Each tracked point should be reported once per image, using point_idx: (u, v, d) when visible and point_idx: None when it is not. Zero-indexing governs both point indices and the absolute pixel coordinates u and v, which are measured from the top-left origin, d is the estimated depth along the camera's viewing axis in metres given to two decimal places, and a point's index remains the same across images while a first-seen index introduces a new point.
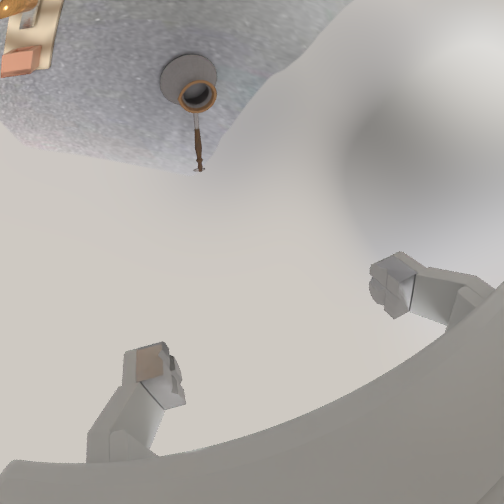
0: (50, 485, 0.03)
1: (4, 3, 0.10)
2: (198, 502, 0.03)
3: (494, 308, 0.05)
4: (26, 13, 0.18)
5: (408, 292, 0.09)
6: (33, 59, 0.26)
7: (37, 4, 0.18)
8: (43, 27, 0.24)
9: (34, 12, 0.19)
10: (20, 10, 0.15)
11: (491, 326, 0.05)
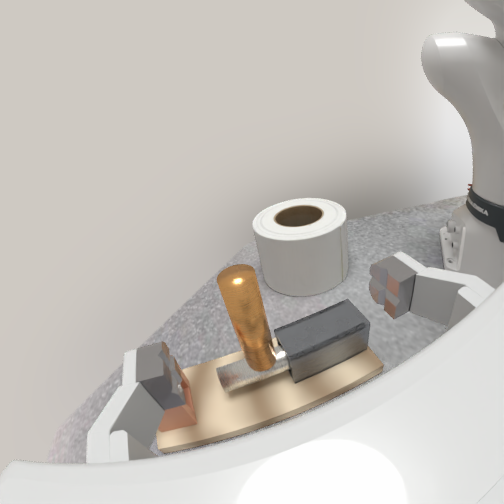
0: (50, 485, 0.03)
1: (244, 271, 0.23)
2: (198, 502, 0.03)
3: (494, 308, 0.05)
4: (243, 363, 0.28)
5: (408, 292, 0.09)
6: None
7: (262, 373, 0.27)
8: (227, 413, 0.27)
9: (247, 377, 0.27)
10: (240, 327, 0.24)
11: (491, 326, 0.05)
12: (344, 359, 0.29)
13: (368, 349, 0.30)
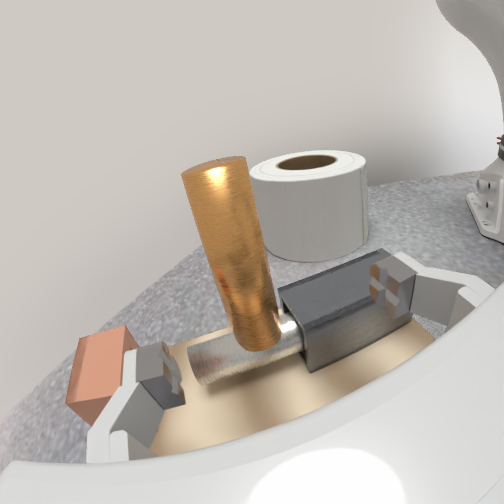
0: (50, 485, 0.03)
1: (229, 160, 0.13)
2: (198, 502, 0.03)
3: (494, 308, 0.05)
4: (229, 338, 0.18)
5: (408, 292, 0.09)
6: (102, 407, 0.14)
7: (260, 356, 0.17)
8: (204, 418, 0.17)
9: (235, 361, 0.17)
10: (220, 262, 0.14)
11: (491, 326, 0.05)
12: (382, 335, 0.19)
13: (412, 321, 0.20)
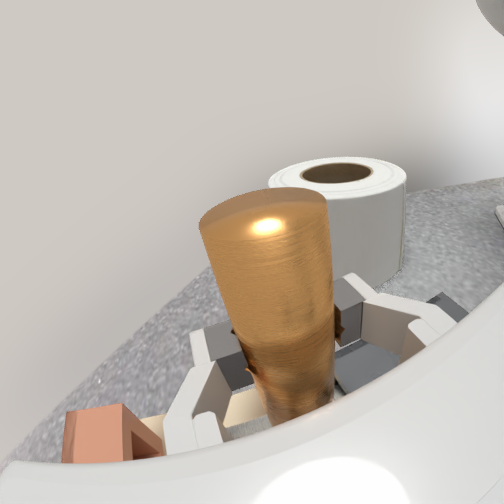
0: (50, 485, 0.03)
1: (291, 199, 0.07)
2: (198, 502, 0.03)
3: (494, 308, 0.05)
4: (265, 429, 0.12)
5: (355, 320, 0.08)
6: None
7: None
8: None
9: None
10: (271, 372, 0.08)
11: (491, 326, 0.05)
12: None
13: None
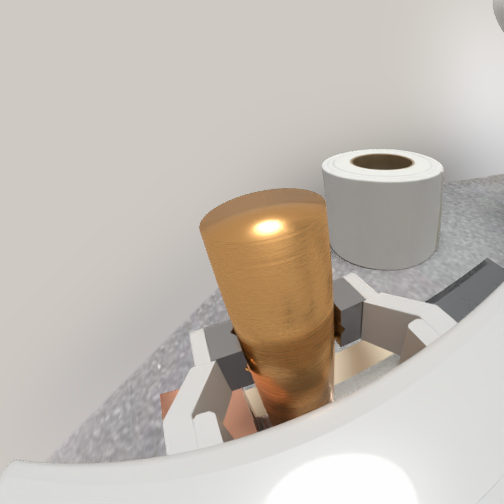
0: (50, 485, 0.03)
1: (290, 201, 0.07)
2: (198, 502, 0.03)
3: (494, 308, 0.05)
4: (265, 428, 0.12)
5: (355, 320, 0.08)
6: None
7: None
8: None
9: None
10: (271, 372, 0.08)
11: (491, 326, 0.05)
12: None
13: None
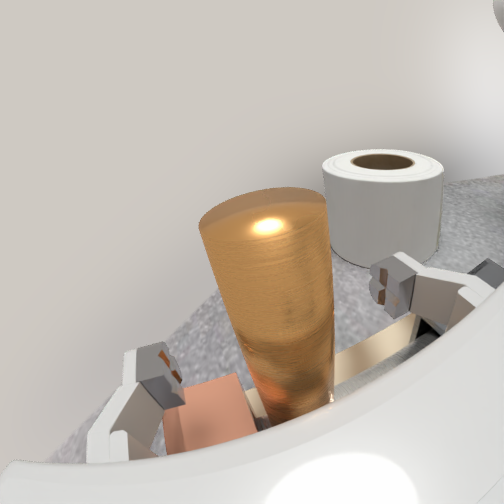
0: (50, 485, 0.03)
1: (290, 200, 0.07)
2: (198, 502, 0.03)
3: (494, 308, 0.05)
4: (265, 429, 0.12)
5: (408, 292, 0.09)
6: None
7: None
8: None
9: None
10: (271, 372, 0.08)
11: (491, 326, 0.05)
12: None
13: None
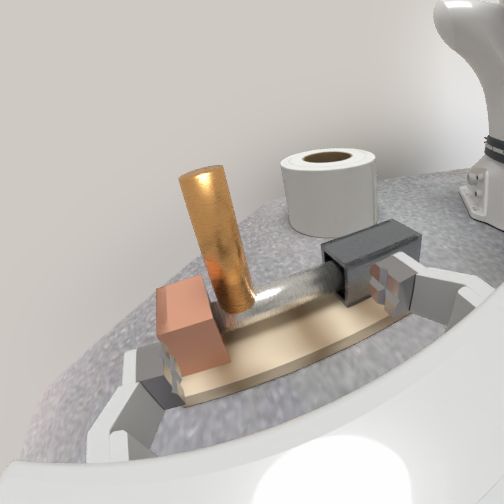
0: (50, 485, 0.03)
1: (211, 168, 0.19)
2: (198, 502, 0.03)
3: (494, 308, 0.05)
4: (214, 304, 0.24)
5: (408, 292, 0.09)
6: (192, 336, 0.20)
7: (237, 318, 0.23)
8: (270, 345, 0.23)
9: (218, 322, 0.23)
10: (205, 240, 0.19)
11: (491, 326, 0.05)
12: None
13: None
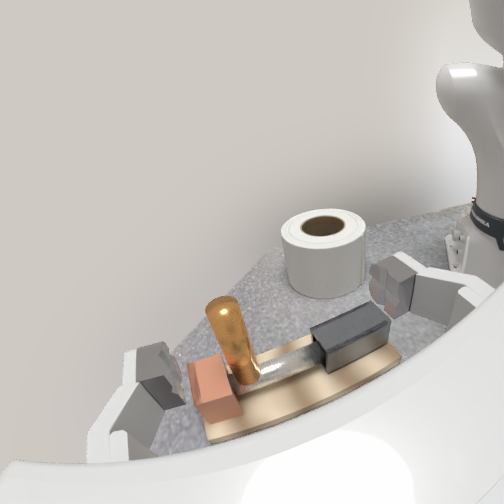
0: (50, 485, 0.03)
1: (229, 303, 0.26)
2: (198, 502, 0.03)
3: (494, 308, 0.05)
4: (231, 377, 0.31)
5: (408, 292, 0.09)
6: (218, 403, 0.28)
7: (248, 387, 0.31)
8: (270, 403, 0.31)
9: (234, 390, 0.30)
10: (226, 349, 0.27)
11: (491, 326, 0.05)
12: (368, 352, 0.33)
13: (388, 343, 0.34)
